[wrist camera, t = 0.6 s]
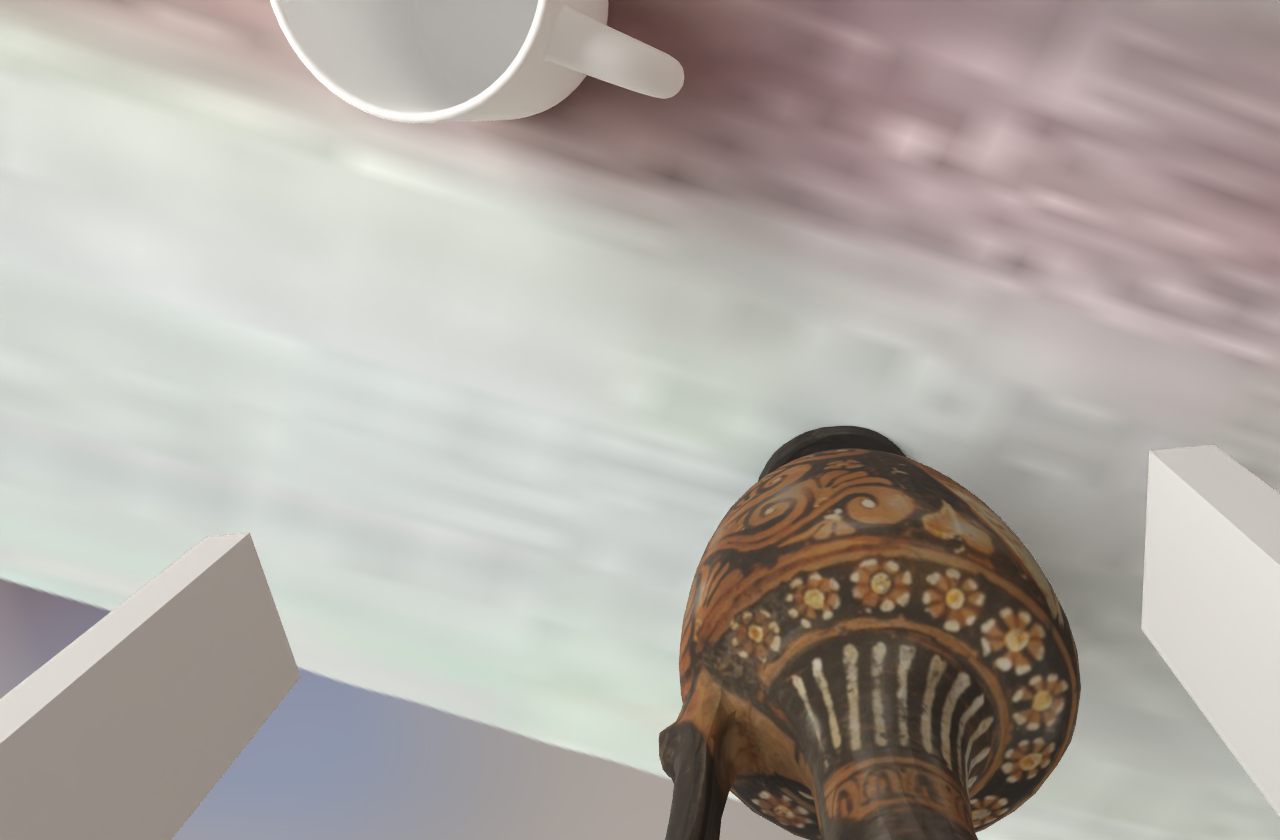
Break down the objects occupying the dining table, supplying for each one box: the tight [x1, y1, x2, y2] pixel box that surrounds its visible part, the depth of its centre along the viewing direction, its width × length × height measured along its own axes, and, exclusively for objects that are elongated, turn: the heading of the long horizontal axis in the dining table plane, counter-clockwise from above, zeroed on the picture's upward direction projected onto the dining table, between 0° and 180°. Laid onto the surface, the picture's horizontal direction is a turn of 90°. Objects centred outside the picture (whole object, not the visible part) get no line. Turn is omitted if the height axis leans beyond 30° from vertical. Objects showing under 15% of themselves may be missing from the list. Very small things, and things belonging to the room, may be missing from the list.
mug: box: [270, 0, 684, 124], centre depth 28 cm, size 12×8×10 cm
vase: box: [659, 426, 1081, 840], centre depth 24 cm, size 12×12×30 cm
